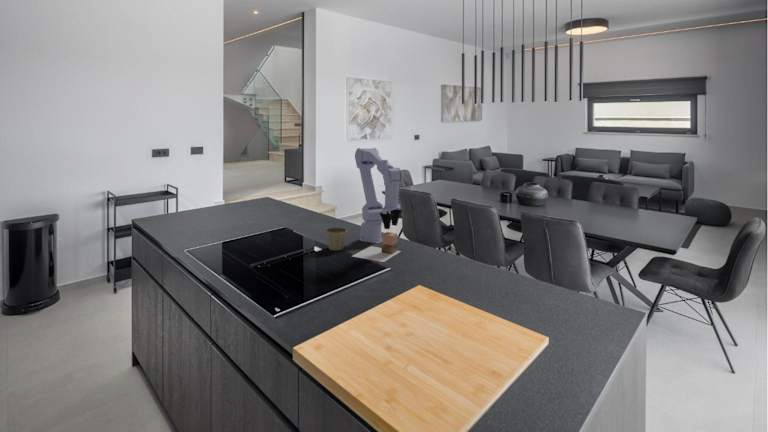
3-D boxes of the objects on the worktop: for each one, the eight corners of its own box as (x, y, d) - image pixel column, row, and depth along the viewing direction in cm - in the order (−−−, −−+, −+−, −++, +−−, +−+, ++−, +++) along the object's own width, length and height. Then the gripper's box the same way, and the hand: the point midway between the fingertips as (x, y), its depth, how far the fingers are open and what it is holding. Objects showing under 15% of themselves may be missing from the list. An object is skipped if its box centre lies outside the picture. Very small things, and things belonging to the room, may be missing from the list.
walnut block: (381, 252, 184) (381, 243, 183) (386, 249, 188) (386, 240, 187) (392, 254, 182) (392, 245, 181) (396, 251, 186) (397, 242, 185)
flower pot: (348, 246, 193) (348, 228, 191) (344, 252, 183) (344, 233, 182) (328, 245, 193) (328, 226, 192) (323, 251, 184) (323, 232, 182)
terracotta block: (381, 243, 183) (381, 234, 182) (386, 240, 187) (387, 232, 186) (392, 245, 181) (392, 236, 180) (397, 242, 185) (397, 233, 184)
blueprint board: (351, 257, 178) (351, 256, 178) (370, 247, 193) (370, 246, 193) (383, 263, 171) (383, 262, 171) (401, 252, 186) (401, 251, 186)
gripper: (392, 199, 176) (391, 231, 179) (406, 194, 189) (405, 224, 191) (377, 198, 179) (376, 229, 182) (392, 193, 192) (391, 222, 194)
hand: (390, 227), depth 187 cm, fingers open, 7 cm apart
